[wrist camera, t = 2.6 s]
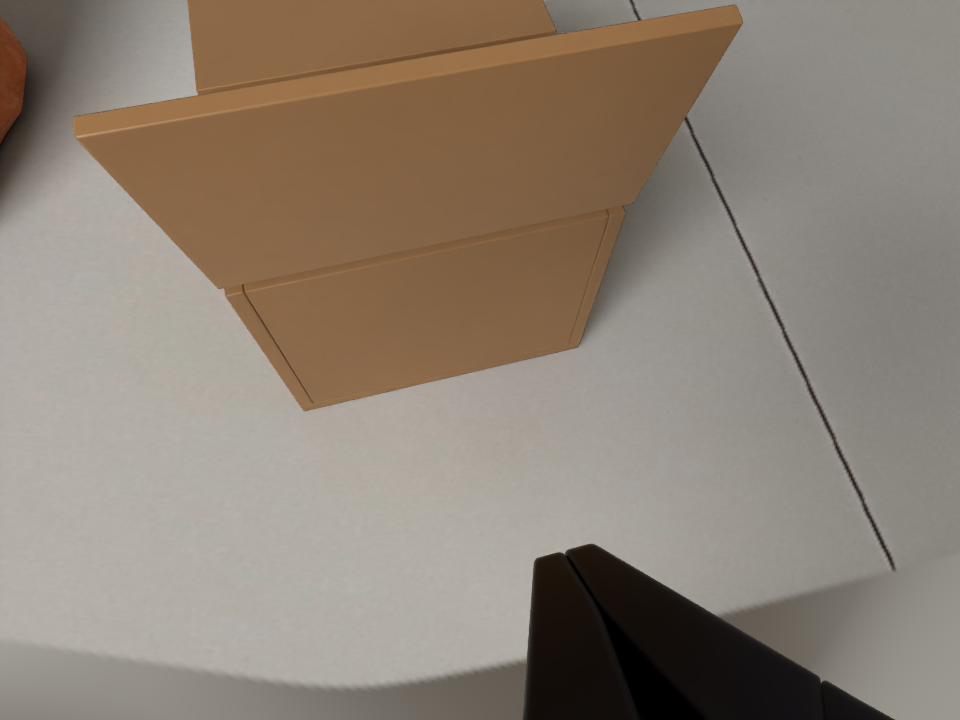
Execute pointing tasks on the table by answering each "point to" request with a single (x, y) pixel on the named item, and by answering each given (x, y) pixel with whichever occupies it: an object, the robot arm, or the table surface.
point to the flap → (410, 146)
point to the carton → (412, 273)
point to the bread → (10, 77)
